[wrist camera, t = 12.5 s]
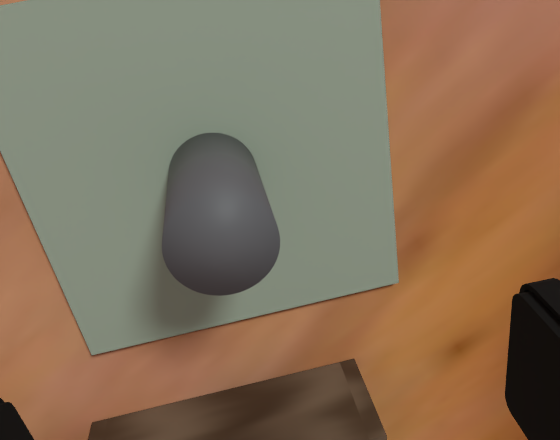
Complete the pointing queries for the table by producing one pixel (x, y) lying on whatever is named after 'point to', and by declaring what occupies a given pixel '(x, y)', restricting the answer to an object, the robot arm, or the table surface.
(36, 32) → the lid
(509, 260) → the table surface
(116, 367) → the table surface
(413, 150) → the table surface
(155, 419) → the box
